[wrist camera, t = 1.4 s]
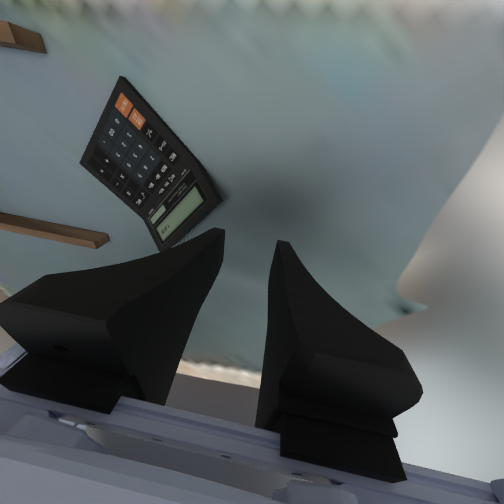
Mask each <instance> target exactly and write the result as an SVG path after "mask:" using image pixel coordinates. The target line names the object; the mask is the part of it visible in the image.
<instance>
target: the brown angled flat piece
mask: <svg viewBox="0 0 504 504" xmlns="http://www.w3.org/2000/svg"><path fill="white" fill-rule="evenodd" d="M0 46H4V47H10V48H16V49H22V50H29V51H35V52H41V53H46V50H45V47H44V44H43V41H42V38H41V35H40V34H38V33H35V32H33V31H30V30H28V29H25V28H22V27H20V26H17V25H15V24H12V23H10V22H7V21H0ZM0 229H1V230H6V231H11V232H15V233H20V234H25V235H30V236H35V237H40V238H45V239H50V240H54V241H59V242H64V243H69V244H74V245H79V246H84V247H89V248H94V249H97V248H99V247H101V246H102V245H104V244H105V243H107V242H108V241H109V238H108V235H107V234H105V233H100V232H95V231H90V230H85V229H80V228H75V227H70V226H65V225H60V224H55V223H50V222H45V221H40V220H35V219H30V218H25V217H20V216H15V215H10V214H5V213H0Z"/></svg>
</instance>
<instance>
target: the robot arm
mask: <svg viewBox="0 0 504 504" xmlns="http://www.w3.org/2000/svg"><path fill="white" fill-rule="evenodd" d="M224 241H225V230H224V229H219V228H212V229H210V230H208V231H206V232H204V233H202V234H201V235H199V236H197V237H195V238H193V239H191V240H189V241H187V242H184V243H182V244H180V245H178V246H175V247H173V248H171V249H168V250H165V251H163V252H160V253H157V254H154V255H151V256H147V257H144V258H140V259H136V260H132V261H129V262H125V263H120V264H115V265H110V266H105V267H100V268H94V269H88V270H80V271H73V272H65V273H58V274H49V275H45V276H43V277H41V278H40V279H38V280H37V281H35V282H33V283H32V284H30V285H29V286H27V287H26V288H24V289H22V290H21V291H19V292H18V293H16V294H14V295H13V296H11V297H9V298H8V299H6V300H5V301H3V302H1V303H0V326H1V327H2V328H3V329H4V330H5V331H6V332H7V333H8V334H9V335H10V336H11V337H12V338H13V339H14V340H15V341H16V342H17V343H16V344H14V345H13V346H12V347H10V348H9V349H8V350H7V351H5V352H4V353H3V354H2V355H0V504H504V479H499V480H494V481H491V483H487V482H483V481H478V480H474V479H470V478H466V477H462V476H457V475H453V474H449V473H444V472H441V471H436V470H432V469H428V468H423V467H419V466H415V465H411V464H407V463H402V462H401V460H400V457H399V454H398V451H397V449H396V446H395V443H394V440H393V438H396V437H398V432H397V429H396V427H395V424H394V421H393V418H394V417H396V416H397V415H399V414H401V413H403V412H404V411H406V410H408V409H410V408H411V407H413V406H414V405H415V404H417V403H418V402H419V400H420V398H421V396H422V394H423V390H422V385H421V384H420V382H419V380H418V378H417V376H416V374H415V372H414V371H413V369H412V367H411V365H410V363H409V361H408V360H407V357H406V356H405V354H404V352H403V351H402V350H401V349H400V348H398V347H397V346H395V345H394V344H392V343H391V342H389V341H388V340H386V339H385V338H383V337H382V336H380V335H379V334H377V333H376V332H374V331H373V330H371V329H370V328H369V327H367V326H366V325H365V324H363V323H362V322H361V321H359V320H358V319H357V318H355V317H354V316H353V315H352V314H350V313H349V312H348V311H347V310H346V309H344V308H343V307H342V306H341V305H340V304H339V303H338V302H336V301H335V300H334V299H333V298H332V297H331V296H330V295H329V294H328V293H327V292H326V291H325V290H324V289H323V288H322V287H321V286H320V285H319V284H318V283H317V282H316V281H315V279H314V278H313V277H312V276H311V274H310V273H309V272H308V271H307V269H306V268H305V267H304V265H303V264H302V262H301V261H300V259H299V258H298V256H297V255H296V253H295V251H294V250H293V248H292V246H291V244H290V243H289V242H286V241H281V240H278V241H277V245H276V249H275V253H274V257H273V261H272V265H271V269H270V275H269V283H268V324H267V335H266V344H265V353H264V361H263V369H262V377H261V385H260V392H259V400H258V407H257V414H256V422H255V427H251V426H247V425H242V424H238V423H234V422H229V421H225V420H220V419H217V418H213V417H208V416H204V415H200V414H196V413H192V412H188V411H183V410H179V409H175V408H170V407H166V406H165V403H166V400H167V397H168V394H169V391H170V388H171V385H172V382H173V379H174V376H175V373H176V371H177V368H178V365H179V362H180V359H181V357H182V354H183V351H184V348H185V346H186V343H187V340H188V338H189V335H190V332H191V330H192V327H193V325H194V322H195V320H196V317H197V315H198V312H199V310H200V308H201V306H202V304H203V302H204V300H205V298H206V297H207V295H208V293H209V291H210V289H211V287H212V285H213V283H214V281H215V279H216V277H217V275H218V273H219V270H220V268H221V265H222V262H223V256H224ZM87 426H89V427H93V428H98V429H101V430H106V431H110V432H114V433H118V434H122V435H126V436H130V437H134V438H138V439H142V440H146V441H150V442H154V443H158V444H162V445H166V446H170V447H174V448H179V449H183V450H187V451H191V452H195V453H199V454H203V455H207V456H211V457H215V458H219V459H223V460H227V461H232V462H235V463H240V464H244V465H248V466H252V467H256V468H260V469H264V470H268V471H272V472H276V473H280V474H285V475H288V476H292V477H296V478H301V479H305V480H309V481H313V482H306V481H298V480H290V481H289V482H288V483H287V487H286V488H284V489H276V490H274V492H273V496H272V497H273V498H272V499H270V498H267V497H263V496H260V495H257V494H254V493H250V492H247V491H244V490H240V489H237V488H233V487H230V486H227V485H223V484H220V483H216V482H213V481H209V480H205V479H202V478H198V477H195V476H191V475H187V474H183V473H180V472H176V471H172V470H168V469H164V468H160V467H156V466H152V465H148V464H144V463H141V462H137V461H132V460H128V459H123V458H119V457H115V456H111V455H109V449H108V448H106V447H104V446H103V445H101V444H99V443H97V442H96V441H94V440H93V439H91V438H90V437H89V436H88V435H87V433H86V432H85V430H84V429H85V428H86V427H87ZM316 482H317V483H316Z"/></svg>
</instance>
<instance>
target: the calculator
mask: <svg viewBox="0 0 504 504" xmlns="http://www.w3.org/2000/svg"><path fill="white" fill-rule="evenodd" d="M80 164H81V165H82V166H83V167H84V168H85V169H86V170H88V171H89V172H90V173H91V174H92V175H93V176H94V177H96V178H97V179H98V180H99V181H100V182H101V183H102V184H104V185H105V186H106V187H107V188H108V189H109V190H110V191H112V192H113V193H114V194H115V195H116V196H117V197H118V198H120V199H121V200H122V201H123V202H124V203H125V204H126V205H128V206H129V207H130V208H131V209H132V210H133V211H134V212H136V213H137V214H138V215H139V216H140V217H141V218H142V219H143V220H144V222H145V224H146V226H147V228H148V230H149V232H150V234H151V236H152V238H153V239H154V241H155V243H156V245H157V247H158V249H159V251H160V252H163V251H165V250H168V249H170V248H172V247H173V246H174V245H175V244H176V243H177V242H178V241H179V240H180V239H181V238H183V237H184V236H185V235H186V234H187V233H188V232H189V231H190V230H191V229H192V228H194V227H195V226H196V225H197V224H198V223H199V222H200V221H201V220H202V219H203V218H205V217H206V216H207V215H208V214H209V213H210V212H211V211H212V210H213V209H214V208H216V207H217V206H218V205H219V204H220V203H221V202H222V201H223V200H222V198H221V196H220V195H219V193H218V191H217V190H216V188H215V186H214V185H213V183H212V181H211V179H210V178H209V176H208V174H207V173H206V171H205V169H204V168H203V166H202V164H201V163H200V162H199V160H198V159H197V158H196V157H195V156H194V155H193V154H192V153H191V151H190V150H189V149H188V148H187V147H186V146H185V145H184V143H183V142H182V141H181V140H180V139H179V138H178V137H177V136H176V134H175V133H174V132H173V131H172V130H171V129H170V128H169V127H168V125H167V124H166V123H165V122H164V121H163V120H162V119H161V117H160V116H159V115H158V114H157V113H156V112H155V111H154V110H153V108H152V107H151V106H150V105H149V104H148V103H147V102H146V101H145V99H144V98H143V97H142V96H141V95H140V94H139V93H138V91H137V90H136V89H135V88H134V87H133V86H132V85H131V84H130V82H129V81H128V80H127V79H126V78H125V77H122V76H119V79H118V81H117V83H116V85H115V87H114V89H113V91H112V94H111V96H110V98H109V100H108V102H107V104H106V107H105V109H104V111H103V113H102V115H101V117H100V119H99V122H98V124H97V126H96V128H95V130H94V132H93V135H92V137H91V139H90V141H89V143H88V145H87V148H86V150H85V152H84V154H83V156H82V158H81V160H80Z"/></svg>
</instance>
